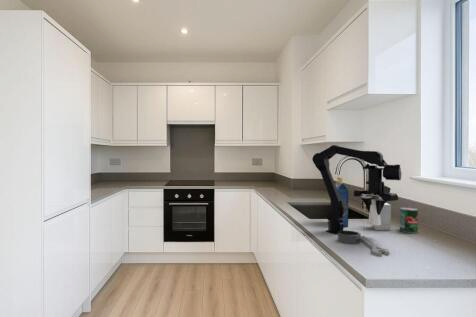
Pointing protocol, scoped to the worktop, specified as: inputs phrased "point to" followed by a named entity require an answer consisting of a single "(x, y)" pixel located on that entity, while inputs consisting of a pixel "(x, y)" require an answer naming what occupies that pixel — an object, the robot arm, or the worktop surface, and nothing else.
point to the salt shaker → (374, 214)
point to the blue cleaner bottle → (342, 197)
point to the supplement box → (384, 218)
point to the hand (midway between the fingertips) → (374, 214)
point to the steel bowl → (349, 237)
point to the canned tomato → (408, 220)
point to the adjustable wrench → (374, 247)
